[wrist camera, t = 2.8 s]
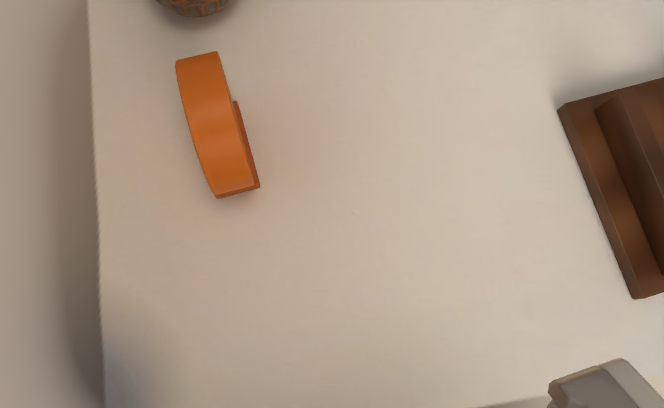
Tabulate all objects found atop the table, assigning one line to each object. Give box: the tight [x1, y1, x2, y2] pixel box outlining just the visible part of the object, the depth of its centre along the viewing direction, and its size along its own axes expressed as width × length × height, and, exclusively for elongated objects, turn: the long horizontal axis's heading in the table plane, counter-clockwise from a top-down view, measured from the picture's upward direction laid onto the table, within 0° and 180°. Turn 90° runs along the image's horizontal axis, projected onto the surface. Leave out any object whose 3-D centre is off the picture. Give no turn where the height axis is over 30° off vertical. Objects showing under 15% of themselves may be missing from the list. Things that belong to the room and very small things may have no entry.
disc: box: [175, 51, 260, 199], centre depth 32 cm, size 3×8×9 cm, turn 16°
